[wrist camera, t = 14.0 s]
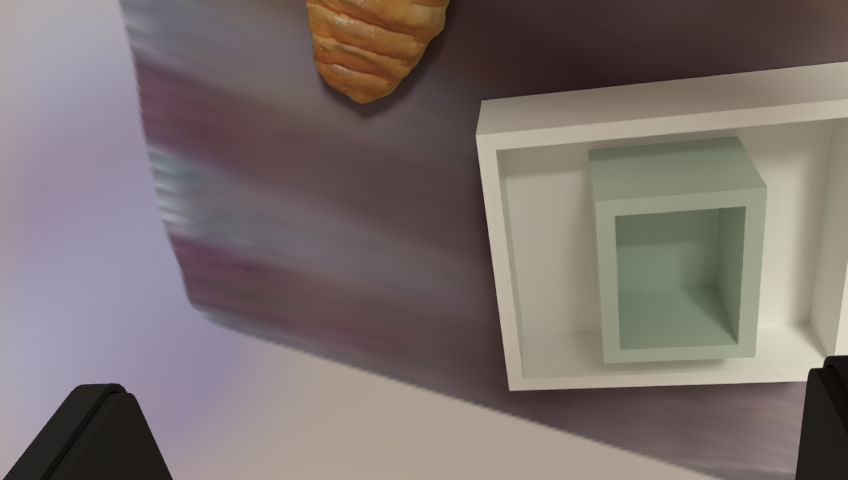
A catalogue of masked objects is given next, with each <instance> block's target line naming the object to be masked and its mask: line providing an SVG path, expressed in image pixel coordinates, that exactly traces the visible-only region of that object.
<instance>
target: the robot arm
mask: <svg viewBox="0 0 848 480" xmlns="http://www.w3.org/2000/svg"><path fill="white" fill-rule="evenodd" d="M3 480H173V479H172V477H171V475H170V472H169V470H168V468H167V466H166V464H165V462H164V459H163V457H162V455H161V453H160V450H159V448H158V446H157V444H156V441H155V439H154V437H153V435H152V433H151V431H150V428H149V426H148V424H147V422H146V419H145V417H144V415H143V413H142V411H141V408H140V406H139V404H138V402H137V400H136V398H135V396H134V395H133V394H131V393H127V392H126V390H125V388H124V387H122V386H121V385H120V384H115V383H110V384H86V385H85V384H84V385H80V386H77V387H76V388H75V389H74V390H73V391H72V392H71V393H70V394H69V395H68V397H67V398H66V399H65V400H64V402H63V403H62V404H61V406H60V407H59V408H58V410H57V411H56V412H55V413H54V415H53V416H52V417H51V419H50V420H49V421H48V422H47V424H46V425H45V426H44V427H43V429H42V430H41V431H40V433H39V434H38V435H37V436H36V438H35V439H34V440H33V442H32V443H31V444H30V445H29V447H28V448H27V449H26V451H25V452H24V453H23V454H22V456H21V457H20V458H19V460H18V461H17V462H16V464H15V465H14V466H13V467H12V469H11V470H10V471H9V472H8V474H7V475H6V476H5V478H4V479H3ZM795 480H848V355H837V356H828V357H826V359H825V360H824V363H823V368H812V369H810V371H809V373H808V378H807V386H806V395H805V403H804V411H803V420H802V428H801V436H800V445H799V453H798V461H797V470H796V478H795Z"/></svg>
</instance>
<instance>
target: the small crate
mask: <svg viewBox="0 0 848 480" xmlns="http://www.w3.org/2000/svg"><path fill="white" fill-rule="evenodd" d="M588 160H589V178H590V196H591V214H592V232H593V250H594V268H595V285H596V301H597V310H598V318H599V327H600V335H601V344H602V352H603V361H604V363H627V362H652V361H677V360H702V359H727V358H752V357H755V354H756V340H757V326H758V312H759V298H760V285H761V271H762V257H763V243H764V229H765V216H766V202H767V186H766V184H765V182H764V181H763V179H762V177H761V176H760V174H759V172H758V171H757V169H756V167H755V165H754V164H753V162H752V160H751V159H750V157H749V155H748V154H747V152H746V150H745V148H744V147H743V145H742V143H741V142H740V140H739V138H738V136H735V137H724V138H713V139H703V140H692V141H681V142H670V143H660V144H649V145H638V146H627V147H617V148H606V149H595V150H588Z"/></svg>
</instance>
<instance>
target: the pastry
mask: <svg viewBox="0 0 848 480" xmlns="http://www.w3.org/2000/svg"><path fill="white" fill-rule="evenodd" d="M449 1H450V0H307V2H306V4H307V10H308V14H309V24H308V26H309V28H310V30H311V36H312V39H313V48H314V55H313V59H314V62H315V65H316V67H317V70H318V72H319V74H320V75H321V76H322V77H323V78H324V80H325V81H326V82H327V83H328V85H330V86H331V87H333V88H335V89H336V90H338V91H340V92H341V93H343V94H346V95H348V96H349V97H351V98H352V99H353V100H354V101H356V102H358V103H361V104H366V103H369V102H371V101H373V100H376V99H379V98H381V97H385V96H387V95H389V94H391V93H392V92H393V91H394V90H395V88H396V87H397V86H398V84H399V83H400V82H401V80H402V79H403V78H404V77H406V76H407V75H408V74H409V73H410V71H411V69H413V68H414V67H415V66H416V65H417V64H418V62H419V60H420V58H421V57H422V55H423V54H424V52H425V49H426V47H427V45H428V44H429V42H430V41H431V40H432V39H433V38H434V37H435V36H437V35H438V34H439V33H440V32H441V31H442V30H443V27H444V23H445V11H446V8H447V6H448V3H449Z"/></svg>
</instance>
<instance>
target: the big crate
mask: <svg viewBox="0 0 848 480" xmlns="http://www.w3.org/2000/svg"><path fill="white" fill-rule="evenodd" d="M735 136H738V138H739V140H740V142H741V143H742V145H743V147H744V148H745V150H746V152H747V154H748V155H749V157H750V159H751V160H752V162H753V164H754V165H755V167H756V169H757V171H758V172H759V174H760V176H761V177H762V179H763V181H764V182H765V184H766V186H767V202H766V216H765V229H764V243H763V257H762V271H761V285H760V298H759V312H758V326H757V340H756V354H755V357H752V358H727V359H702V360H677V361H652V362H627V363H604V361H603V352H602V344H601V335H600V327H599V318H598V310H597V301H596V285H595V268H594V250H593V232H592V214H591V196H590V178H589V160H588V150H595V149H606V148H617V147H627V146H638V145H649V144H660V143H670V142H681V141H692V140H703V139H713V138H724V137H735ZM476 141H477V149H478V156H479V164H480V171H481V179H482V187H483V194H484V202H485V209H486V217H487V224H488V232H489V240H490V247H491V255H492V262H493V270H494V278H495V285H496V293H497V300H498V308H499V315H500V323H501V331H502V338H503V346H504V353H505V361H506V369H507V376H508V384H509V391H517V390H548V389H578V388H609V387H639V386H669V385H700V384H730V383H761V382H791V381H807V378H808V373H809V371H810V369H812V368H823V363H824V360H825V359H826V357H828V356H837V355H848V62H839V63H829V64H820V65H811V66H801V67H792V68H782V69H773V70H764V71H754V72H745V73H735V74H726V75H717V76H707V77H698V78H688V79H679V80H670V81H660V82H651V83H641V84H632V85H623V86H613V87H604V88H594V89H585V90H576V91H566V92H557V93H547V94H538V95H529V96H519V97H510V98H500V99H491V100H482V103H481V109H480V114H479V120H478V126H477V131H476Z"/></svg>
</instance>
